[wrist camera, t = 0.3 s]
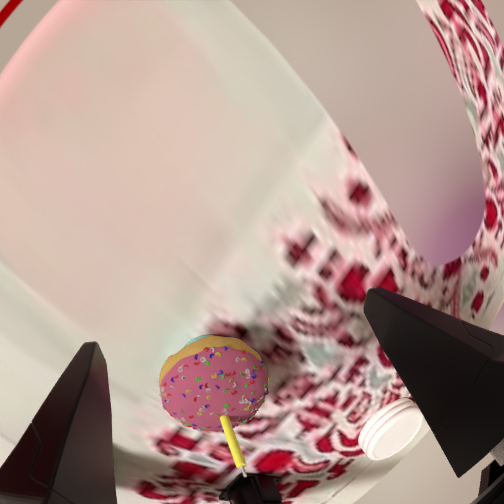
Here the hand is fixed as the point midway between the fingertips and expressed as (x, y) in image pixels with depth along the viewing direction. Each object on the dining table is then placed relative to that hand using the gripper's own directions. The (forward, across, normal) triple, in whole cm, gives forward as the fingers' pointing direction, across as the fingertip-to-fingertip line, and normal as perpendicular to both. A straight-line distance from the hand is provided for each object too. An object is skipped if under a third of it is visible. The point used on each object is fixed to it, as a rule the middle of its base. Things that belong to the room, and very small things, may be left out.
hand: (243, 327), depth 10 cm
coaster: (+8, -22, +34) cm, 41 cm away
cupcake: (+12, 0, +14) cm, 19 cm away
